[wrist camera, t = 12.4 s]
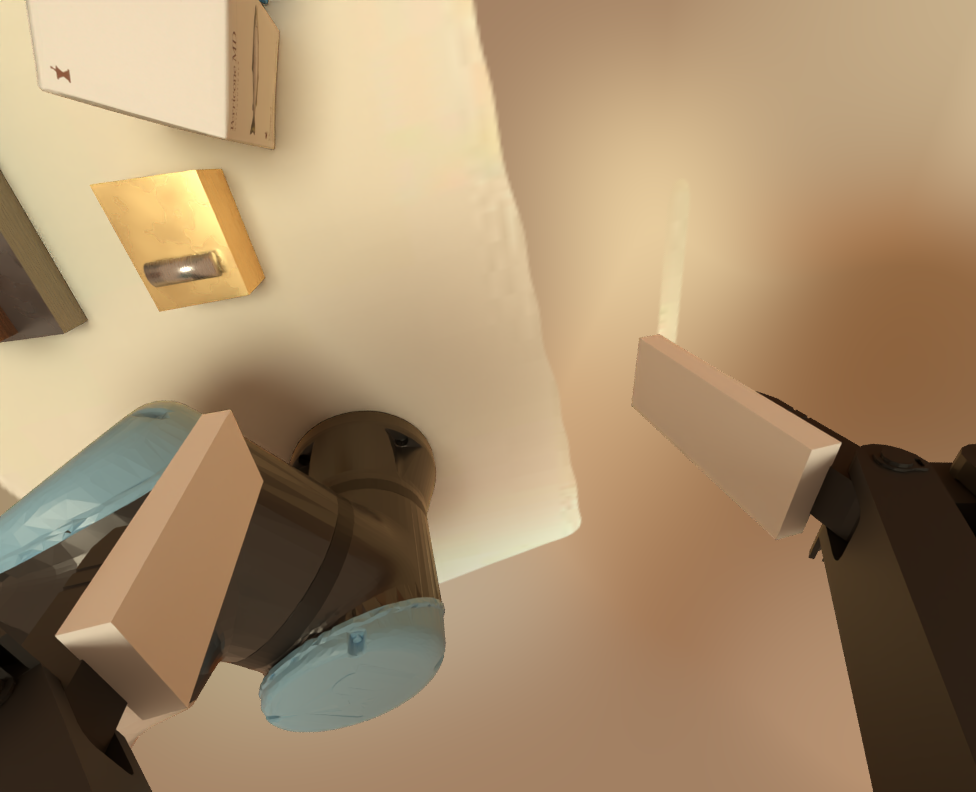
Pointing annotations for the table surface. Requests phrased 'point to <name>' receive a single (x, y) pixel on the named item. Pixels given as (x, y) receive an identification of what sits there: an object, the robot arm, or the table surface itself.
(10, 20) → the table surface
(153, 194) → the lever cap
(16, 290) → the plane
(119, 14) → the supplement box
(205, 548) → the robot arm
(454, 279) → the table surface
